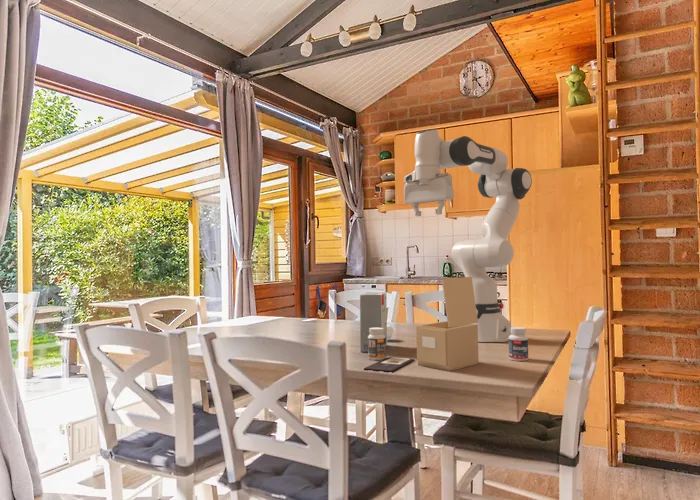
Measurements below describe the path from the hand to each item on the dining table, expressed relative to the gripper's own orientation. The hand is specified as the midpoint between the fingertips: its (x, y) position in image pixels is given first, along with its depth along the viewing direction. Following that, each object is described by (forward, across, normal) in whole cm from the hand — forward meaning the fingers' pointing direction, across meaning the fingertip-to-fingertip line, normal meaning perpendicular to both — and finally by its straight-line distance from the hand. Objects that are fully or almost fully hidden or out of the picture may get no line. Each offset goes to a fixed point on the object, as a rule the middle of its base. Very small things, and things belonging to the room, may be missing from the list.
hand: (428, 215), depth 184 cm
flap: (+35, -25, +14) cm, 45 cm away
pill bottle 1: (+48, +3, +23) cm, 53 cm away
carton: (+47, -19, +14) cm, 53 cm away
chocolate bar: (+48, -7, +27) cm, 55 cm away
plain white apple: (+47, +27, -4) cm, 55 cm away
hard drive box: (+47, +17, +11) cm, 52 cm away
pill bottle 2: (+47, -30, -7) cm, 56 cm away
